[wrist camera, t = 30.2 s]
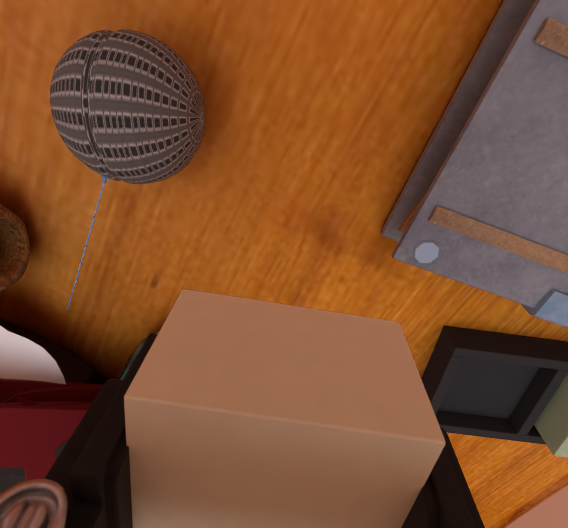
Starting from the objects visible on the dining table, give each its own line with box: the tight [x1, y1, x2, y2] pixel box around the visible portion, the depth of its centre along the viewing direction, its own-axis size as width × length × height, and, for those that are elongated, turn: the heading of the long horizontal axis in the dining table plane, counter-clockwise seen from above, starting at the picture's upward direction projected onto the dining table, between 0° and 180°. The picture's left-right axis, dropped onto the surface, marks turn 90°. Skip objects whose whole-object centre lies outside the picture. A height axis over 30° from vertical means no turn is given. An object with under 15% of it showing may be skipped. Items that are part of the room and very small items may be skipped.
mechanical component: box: [0, 379, 103, 481], centre depth 28 cm, size 23×4×6 cm
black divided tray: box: [422, 326, 568, 444], centre depth 30 cm, size 16×9×2 cm, turn 83°
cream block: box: [124, 289, 445, 528], centre depth 9 cm, size 6×6×4 cm
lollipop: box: [50, 30, 205, 310], centre depth 23 cm, size 10×20×7 cm
